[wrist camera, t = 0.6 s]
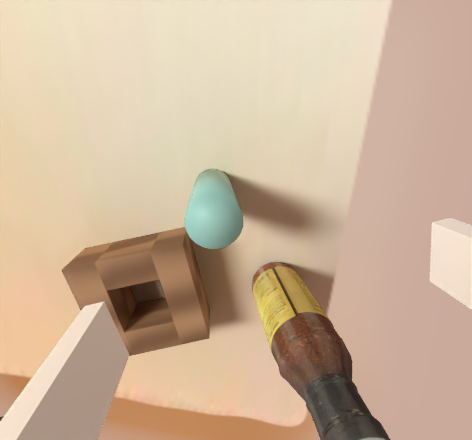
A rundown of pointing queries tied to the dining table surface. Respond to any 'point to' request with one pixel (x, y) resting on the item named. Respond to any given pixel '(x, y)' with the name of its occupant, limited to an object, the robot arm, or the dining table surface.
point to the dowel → (213, 211)
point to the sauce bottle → (312, 355)
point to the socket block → (140, 271)
